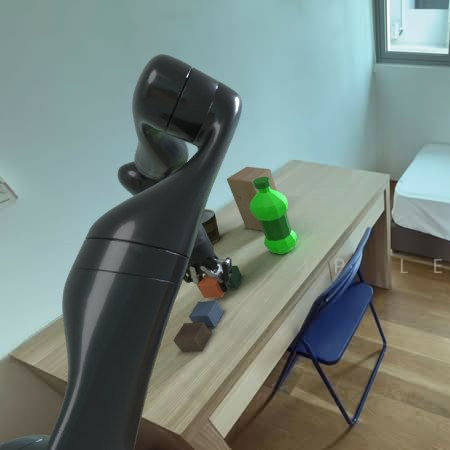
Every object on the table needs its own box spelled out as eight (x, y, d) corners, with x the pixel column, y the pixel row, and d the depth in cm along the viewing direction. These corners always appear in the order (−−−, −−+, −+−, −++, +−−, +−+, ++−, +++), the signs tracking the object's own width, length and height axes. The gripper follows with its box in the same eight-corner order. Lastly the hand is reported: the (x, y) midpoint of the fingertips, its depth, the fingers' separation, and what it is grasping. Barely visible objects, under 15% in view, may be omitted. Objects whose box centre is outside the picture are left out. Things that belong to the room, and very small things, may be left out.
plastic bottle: (276, 238, 105) (253, 171, 91) (305, 240, 104) (286, 173, 89) (260, 257, 97) (233, 187, 83) (291, 260, 96) (269, 189, 81)
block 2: (215, 327, 76) (207, 315, 73) (196, 328, 76) (188, 316, 73) (223, 312, 80) (216, 300, 77) (205, 313, 80) (198, 301, 77)
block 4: (236, 288, 87) (230, 276, 84) (220, 289, 87) (213, 277, 84) (242, 277, 90) (237, 265, 88) (227, 277, 90) (221, 266, 88)
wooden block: (245, 228, 111) (225, 178, 99) (263, 214, 119) (246, 165, 107) (269, 232, 108) (251, 181, 97) (285, 217, 116) (270, 168, 105)
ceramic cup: (197, 235, 109) (185, 211, 103) (227, 230, 111) (217, 206, 105) (186, 258, 98) (172, 233, 92) (220, 252, 100) (208, 227, 94)
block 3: (202, 351, 71) (193, 339, 68) (182, 352, 71) (172, 340, 68) (211, 334, 74) (203, 322, 72) (192, 335, 74) (184, 323, 72)
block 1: (222, 297, 79) (215, 284, 77) (204, 298, 79) (196, 285, 77) (229, 284, 83) (223, 272, 80) (212, 285, 83) (205, 272, 80)
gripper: (226, 228, 74) (249, 279, 84) (167, 231, 74) (196, 281, 84) (212, 248, 68) (238, 300, 78) (147, 251, 68) (181, 303, 78)
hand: (216, 290), depth 81 cm, fingers closed on block 1, 4 cm apart
